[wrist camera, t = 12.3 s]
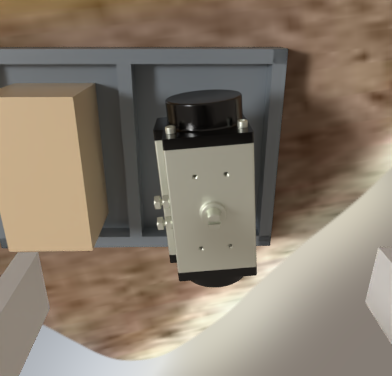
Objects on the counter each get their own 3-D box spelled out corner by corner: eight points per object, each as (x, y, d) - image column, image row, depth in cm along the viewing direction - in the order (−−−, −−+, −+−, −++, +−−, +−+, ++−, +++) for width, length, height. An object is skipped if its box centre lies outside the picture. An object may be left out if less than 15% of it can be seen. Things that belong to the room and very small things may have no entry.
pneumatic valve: (230, 75, 28) (257, 107, 17) (236, 212, 33) (260, 307, 22) (157, 81, 28) (138, 117, 17) (173, 218, 33) (166, 314, 22)
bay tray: (-29, 47, 28) (-90, 53, 22) (280, 47, 28) (306, 53, 22) (12, 234, 34) (-25, 280, 28) (265, 232, 35) (281, 276, 29)
